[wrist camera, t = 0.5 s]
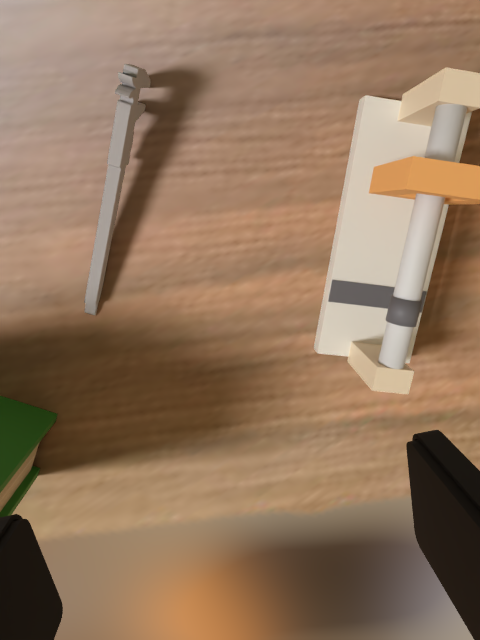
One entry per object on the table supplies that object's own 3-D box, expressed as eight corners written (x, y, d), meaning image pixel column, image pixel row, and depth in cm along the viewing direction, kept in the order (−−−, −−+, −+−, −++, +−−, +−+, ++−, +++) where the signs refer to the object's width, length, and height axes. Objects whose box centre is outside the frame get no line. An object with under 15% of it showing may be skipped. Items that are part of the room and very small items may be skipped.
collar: (374, 166, 33) (413, 156, 26) (455, 178, 33) (514, 171, 27) (368, 193, 33) (405, 188, 26) (449, 204, 34) (505, 203, 27)
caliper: (139, 77, 34) (121, 48, 28) (152, 82, 34) (137, 54, 28) (85, 311, 38) (60, 330, 32) (97, 314, 38) (74, 334, 32)
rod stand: (360, 93, 34) (402, 59, 27) (462, 110, 35) (533, 81, 27) (312, 352, 40) (335, 387, 32) (401, 362, 41) (445, 398, 33)
